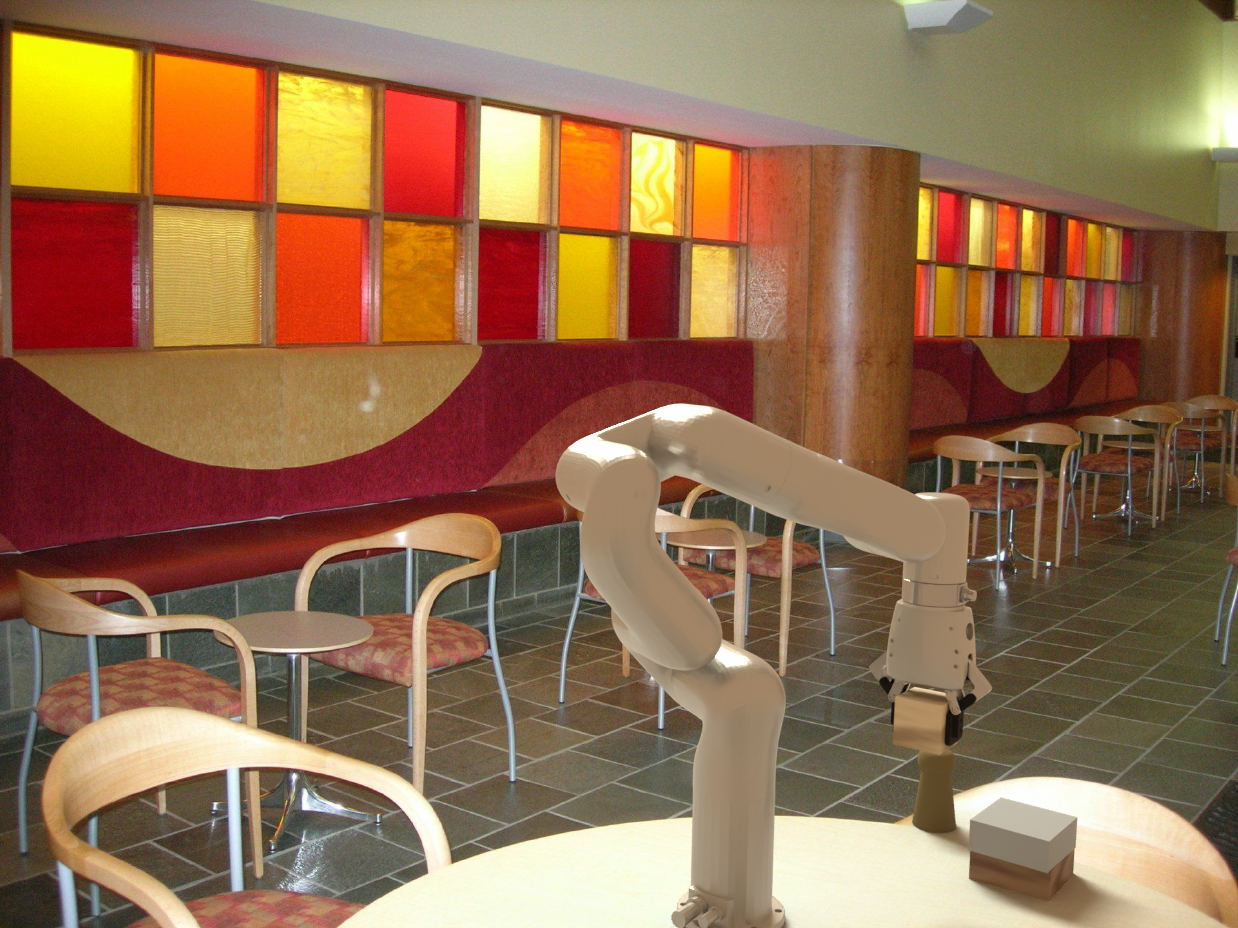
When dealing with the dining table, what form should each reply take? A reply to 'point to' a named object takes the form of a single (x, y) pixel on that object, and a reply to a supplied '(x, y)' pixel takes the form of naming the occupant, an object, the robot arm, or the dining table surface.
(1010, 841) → the tower top
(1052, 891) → the tower base
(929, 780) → the brown tapered cylinder
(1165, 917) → the dining table surface
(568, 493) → the robot arm
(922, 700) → the block
